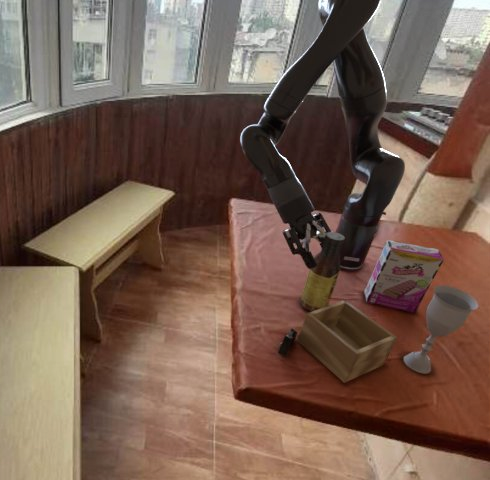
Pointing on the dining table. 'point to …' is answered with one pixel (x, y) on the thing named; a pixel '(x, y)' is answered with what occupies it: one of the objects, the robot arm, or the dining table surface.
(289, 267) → the dining table surface
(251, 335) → the dining table surface
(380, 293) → the candy bar box
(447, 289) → the chalice
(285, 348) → the lighter
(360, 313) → the caddy
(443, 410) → the dining table surface
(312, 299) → the sauce bottle
